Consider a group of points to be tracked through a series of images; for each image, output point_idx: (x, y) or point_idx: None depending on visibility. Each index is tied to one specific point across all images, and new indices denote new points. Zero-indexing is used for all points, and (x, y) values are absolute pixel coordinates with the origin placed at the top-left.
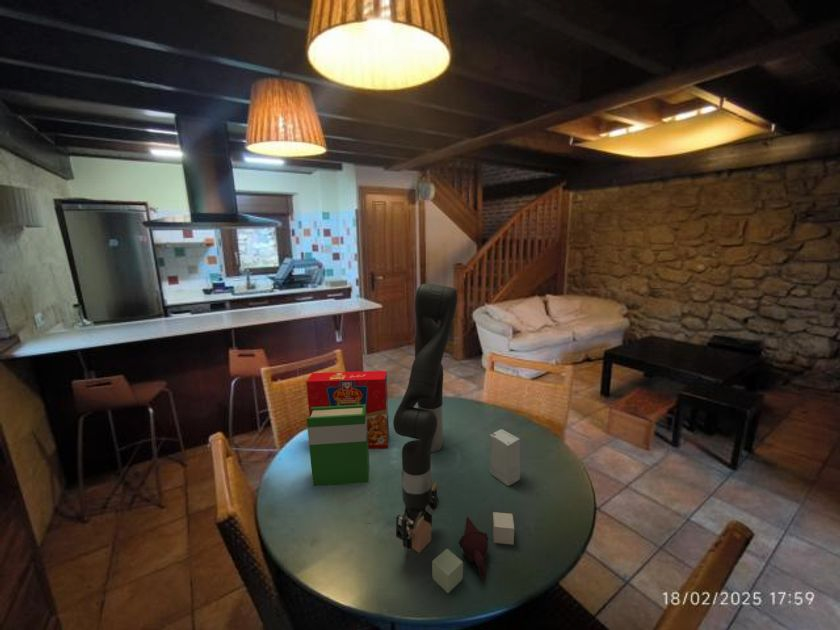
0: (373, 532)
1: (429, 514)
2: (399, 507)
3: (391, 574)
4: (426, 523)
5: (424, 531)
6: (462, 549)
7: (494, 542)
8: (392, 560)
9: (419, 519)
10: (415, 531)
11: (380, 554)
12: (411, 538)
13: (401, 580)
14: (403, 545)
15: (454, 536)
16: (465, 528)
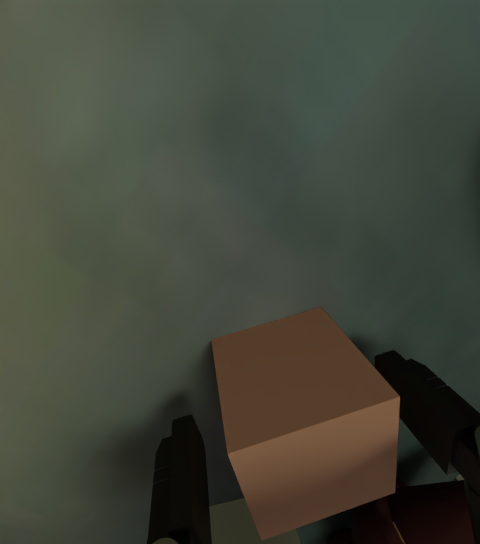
0: (45, 119)
1: (465, 480)
2: (405, 27)
3: (45, 450)
4: (381, 483)
5: (320, 515)
6: (367, 531)
7: (457, 478)
8: (87, 395)
9: (381, 439)
10: (273, 507)
11: (28, 333)
12: (209, 537)
13: (80, 483)
14: (157, 458)
15: None
16: (467, 523)
